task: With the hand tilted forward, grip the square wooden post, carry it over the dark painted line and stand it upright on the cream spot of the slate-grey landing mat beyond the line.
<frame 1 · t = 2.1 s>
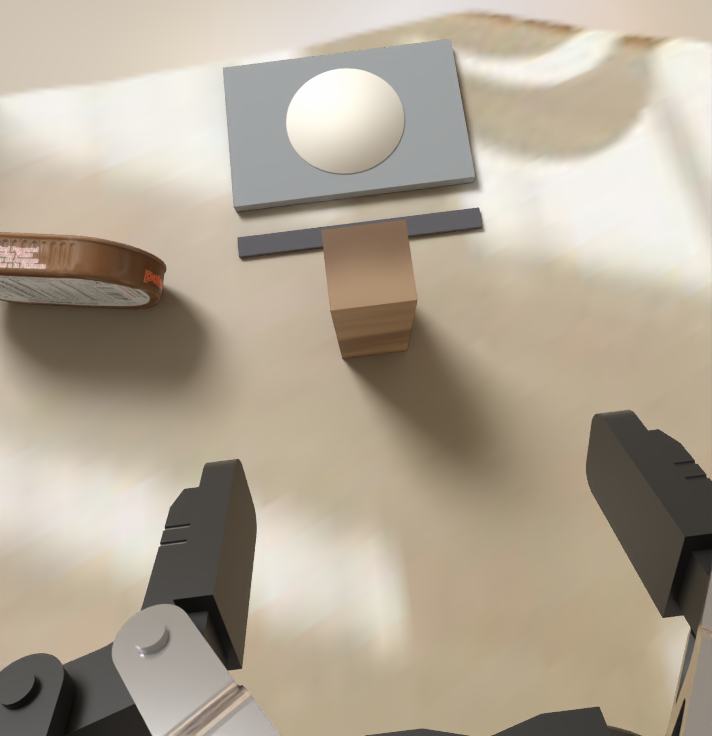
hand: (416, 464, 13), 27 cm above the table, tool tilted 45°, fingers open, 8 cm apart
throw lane: (353, 185, 44), on the table
tin: (82, 295, 43), on the table
square wooden post: (370, 323, 42), on the table
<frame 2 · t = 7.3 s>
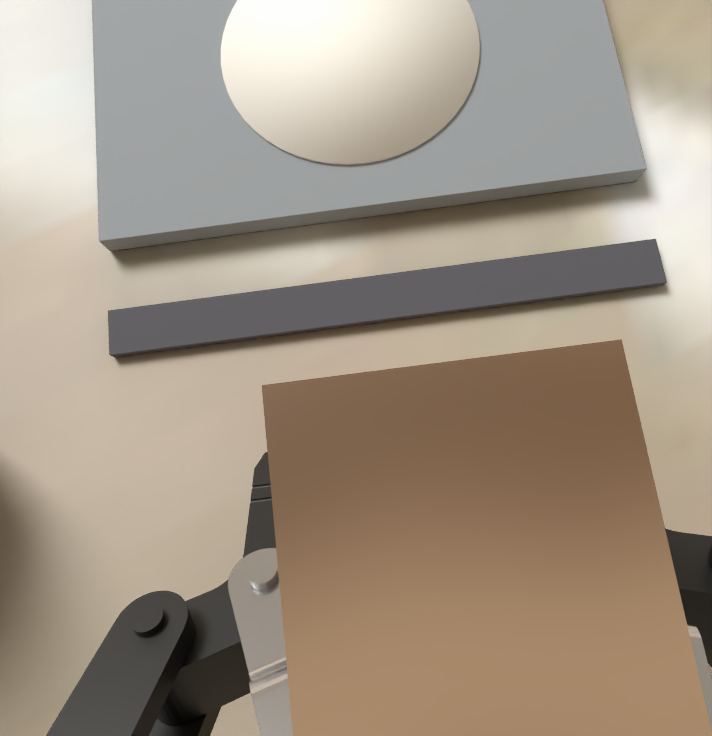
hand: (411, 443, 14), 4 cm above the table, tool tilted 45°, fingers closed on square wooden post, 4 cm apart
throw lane: (368, 189, 20), on the table
square wooden post: (414, 517, 18), on the table, touching gripper
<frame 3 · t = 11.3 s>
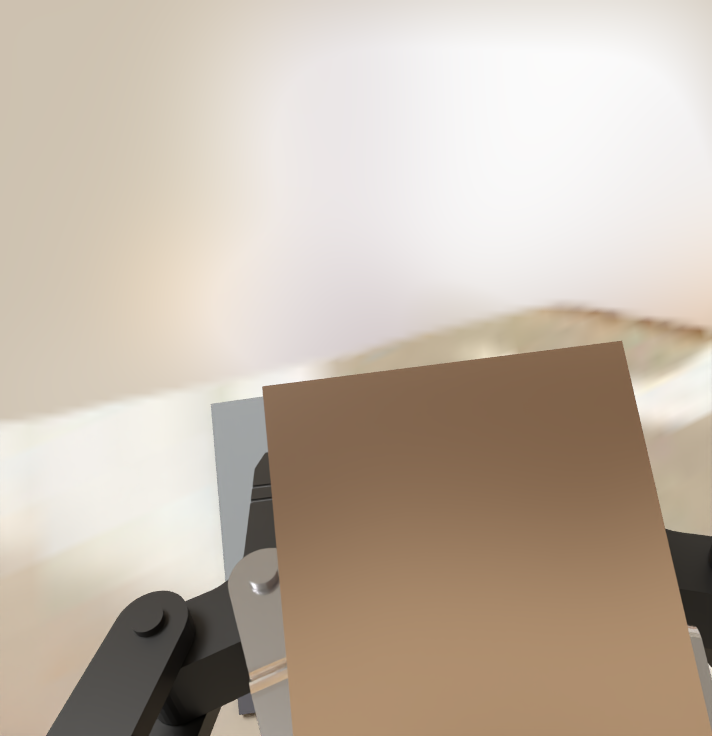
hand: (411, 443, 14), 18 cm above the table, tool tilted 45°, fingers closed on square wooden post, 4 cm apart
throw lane: (403, 589, 30), on the table
square wooden post: (414, 518, 18), point 14 cm above the table, touching gripper
when the fingers open (6 cm above the table, at t = 15.1 s): square wooden post stays where it is, resting on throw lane.
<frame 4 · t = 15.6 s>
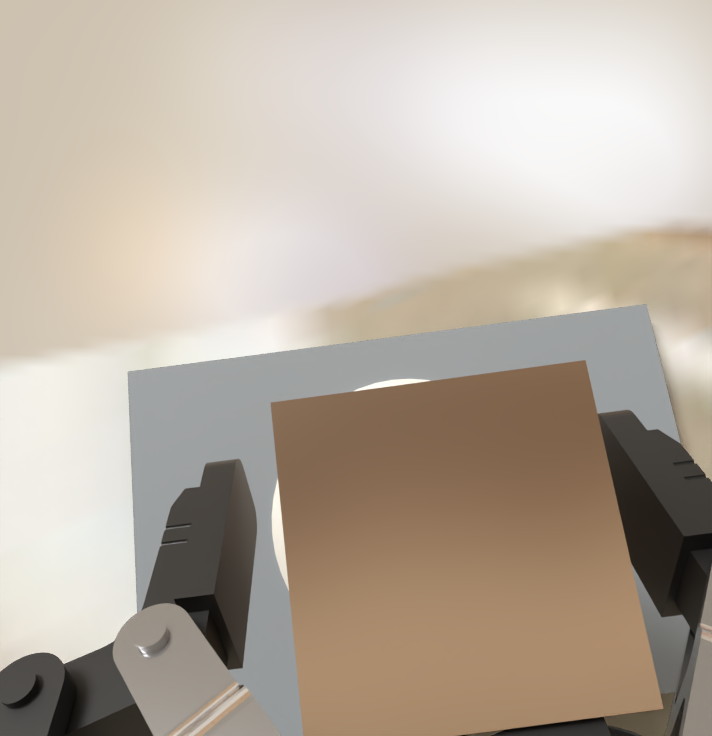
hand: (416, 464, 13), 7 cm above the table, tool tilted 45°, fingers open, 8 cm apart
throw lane: (432, 677, 18), on the table
square wooden post: (410, 518, 19), point 1 cm above the table, touching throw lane
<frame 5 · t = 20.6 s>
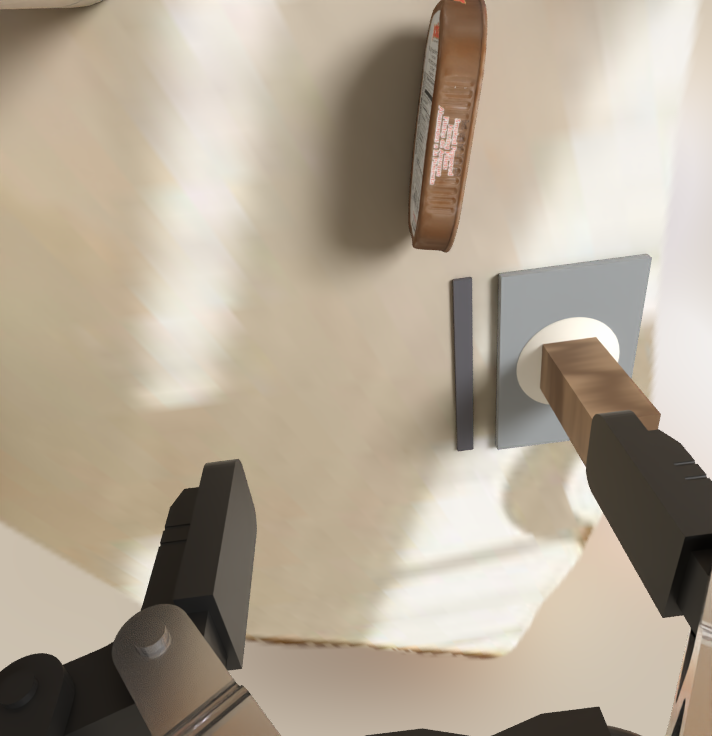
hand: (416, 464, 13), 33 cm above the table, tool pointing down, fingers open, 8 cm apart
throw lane: (508, 365, 52), on the table
tin: (429, 123, 41), on the table
square wooden post: (567, 363, 51), point 1 cm above the table, touching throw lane
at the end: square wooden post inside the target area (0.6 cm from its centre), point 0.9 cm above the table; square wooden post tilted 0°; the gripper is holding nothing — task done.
